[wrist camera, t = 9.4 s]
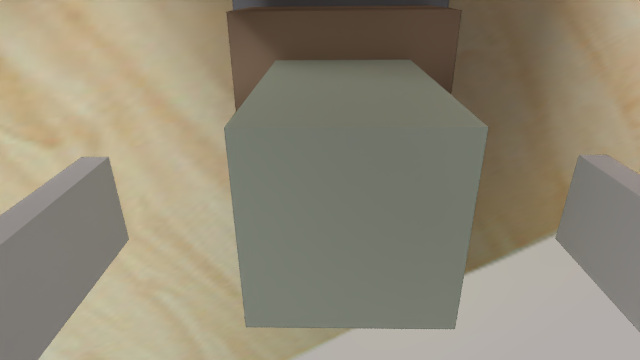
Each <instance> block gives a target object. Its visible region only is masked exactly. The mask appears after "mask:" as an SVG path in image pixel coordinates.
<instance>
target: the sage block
mask: <svg viewBox="0 0 640 360" xmlns="http://www.w3.org/2000/svg"><path fill="white" fill-rule="evenodd" d="M488 128H489V127H488V126H487V125H486V124H484V123H483V122H482V121H481V120H480V119H479V118H477V117H476V116H475V115H474V114H473V113H472V112H471V111H469V110H468V109H467V108H466V107H465V106H464V105H462V104H461V103H460V102H459V101H458V100H457V99H455V98H454V97H453V96H452V95H451V94H450V93H448V92H447V91H446V90H445V89H444V88H443V87H441V86H440V85H439V84H438V83H437V82H436V81H435V80H433V79H432V78H431V77H430V76H429V75H428V74H426V73H425V72H424V71H423V70H422V69H421V68H419V67H418V66H417V65H416V64H415V63H414V62H412V61H411V60H276V61H275V62H274V63H273V64H272V66H271V67H270V68H269V70H268V71H267V72H266V74H265V75H264V76H263V78H262V79H261V80H260V81H259V83H258V84H257V85H256V87H255V88H254V89H253V91H252V92H251V93H250V94H249V96H248V97H247V98H246V100H245V101H244V102H243V104H242V105H241V106H240V108H239V109H238V110H237V111H236V113H235V114H234V115H233V117H232V118H231V119H230V121H229V122H228V123H227V125H226V126H225V127H224V131H225V140H226V150H227V159H228V168H229V177H230V186H231V195H232V204H233V214H234V223H235V232H236V241H237V250H238V259H239V269H240V278H241V287H242V296H243V305H244V314H245V323H246V327H277V328H393V329H404V328H405V329H455V325H456V319H457V313H458V307H459V301H460V295H461V289H462V283H463V278H464V272H465V266H466V260H467V254H468V248H469V242H470V236H471V230H472V224H473V218H474V212H475V206H476V200H477V194H478V188H479V182H480V176H481V170H482V164H483V158H484V152H485V146H486V140H487V134H488Z"/></svg>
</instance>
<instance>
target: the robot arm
mask: <svg viewBox="0 0 640 360" xmlns="http://www.w3.org/2000/svg"><path fill="white" fill-rule="evenodd" d="M128 240H129V238H128V234H127V229H126V225H125V221H124V217H123V213H122V209H121V205H120V201H119V197H118V193H117V189H116V185H115V181H114V177H113V173H112V169H111V165H110V161H109V157H81V158H80V159H78V160H77V161H75V162H74V163H73V164H71V165H70V166H69V167H67V168H66V169H64V170H63V171H62V172H60V173H59V174H57V175H56V176H55V177H53V178H52V179H51V180H49V181H48V182H46V183H45V184H44V185H42V186H41V187H39V188H38V189H37V190H35V191H34V192H33V193H31V194H30V195H28V196H27V197H26V198H24V199H23V200H21V201H20V202H19V203H17V204H16V205H15V206H13V207H12V208H10V209H9V210H8V211H6V212H5V213H3V214H2V215H1V216H0V360H38V359H39V357H40V356H41V355H42V353H43V352H44V351H45V349H46V348H47V347H48V345H49V344H50V343H51V342H52V340H53V339H54V338H55V336H56V335H57V334H58V332H59V331H60V330H61V328H62V327H63V326H64V324H65V323H66V322H67V320H68V319H69V318H70V316H71V315H72V314H73V313H74V311H75V310H76V309H77V307H78V306H79V305H80V303H81V302H82V301H83V299H84V298H85V297H86V295H87V294H88V293H89V291H90V290H91V289H92V287H93V286H94V285H95V283H96V282H97V281H98V280H99V278H100V277H101V276H102V274H103V273H104V272H105V270H106V269H107V268H108V266H109V265H110V264H111V262H112V261H113V260H114V258H115V257H116V256H117V254H118V253H119V252H120V251H121V249H122V248H123V247H124V245H125V244H126V243H127V241H128ZM556 240H557V241H558V242H559V243H560V244H561V245H562V246H563V247H564V249H565V250H566V251H567V252H568V253H569V254H570V255H571V256H572V257H573V258H574V259H575V261H576V262H577V263H578V264H579V265H580V266H581V267H582V268H583V270H584V271H585V272H586V273H587V274H588V275H589V276H590V277H591V278H592V279H593V281H594V282H595V283H596V284H597V285H598V286H599V287H600V288H601V290H602V291H603V292H604V293H605V294H606V295H607V296H608V297H609V299H610V300H611V301H612V302H613V303H614V304H615V305H616V306H617V307H618V309H619V310H620V311H621V312H622V313H623V314H624V315H625V316H626V317H627V319H628V320H629V321H630V322H631V323H632V324H633V325H634V326H635V327H636V328H637V329H638V331H639V332H640V175H639V174H637V173H636V172H634V171H633V170H631V169H629V168H628V167H626V166H624V165H623V164H621V163H619V162H618V161H616V160H615V159H613V158H611V157H610V156H608V155H579V157H578V160H577V164H576V167H575V171H574V174H573V178H572V181H571V185H570V189H569V192H568V196H567V199H566V203H565V206H564V210H563V214H562V217H561V221H560V224H559V228H558V231H557V235H556Z"/></svg>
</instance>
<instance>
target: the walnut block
mask: <svg viewBox="0 0 640 360" xmlns="http://www.w3.org/2000/svg"><path fill="white" fill-rule="evenodd" d="M460 18H461V10H458V9H452V8H445V7H438V6H432V5H400V6H281V7H247V8H243V9H238V10H233V11H228V12H227V22H228V32H229V43H230V53H231V64H232V75H233V85H234V96H235V106H236V111H237V110H238V109H239V108H240V106H241V105H242V104H243V102H244V101H245V100H246V98H247V97H248V96H249V94H250V93H251V92H252V91H253V89H254V88H255V87H256V85H257V84H258V83H259V81H260V80H261V79H262V78H263V76H264V75H265V74H266V72H267V71H268V70H269V68H270V67H271V66H272V64H273V63H274V62H275V61H276V60H411V61H412V62H414V63H415V64H416V65H417V66H418V67H419V68H421V69H422V70H423V71H424V72H425V73H426V74H428V75H429V76H430V77H431V78H432V79H433V80H435V81H436V82H437V83H438V84H439V85H440V86H441V87H443V88H444V89H445V90H446V91H447V92H448V93H450V94H451V91H452V83H453V75H454V67H455V58H456V50H457V42H458V34H459V26H460Z"/></svg>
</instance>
